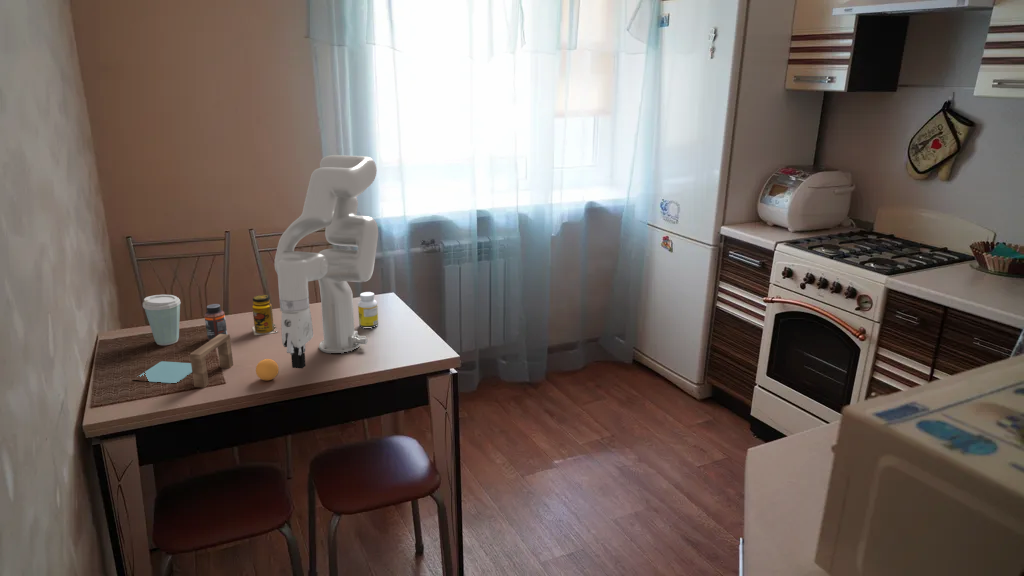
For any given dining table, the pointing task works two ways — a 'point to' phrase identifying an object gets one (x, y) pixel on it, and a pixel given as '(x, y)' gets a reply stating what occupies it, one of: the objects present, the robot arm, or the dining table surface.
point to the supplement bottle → (215, 321)
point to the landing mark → (168, 372)
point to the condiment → (262, 315)
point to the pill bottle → (368, 310)
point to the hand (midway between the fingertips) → (298, 367)
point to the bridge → (199, 355)
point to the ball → (267, 369)
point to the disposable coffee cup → (163, 317)
